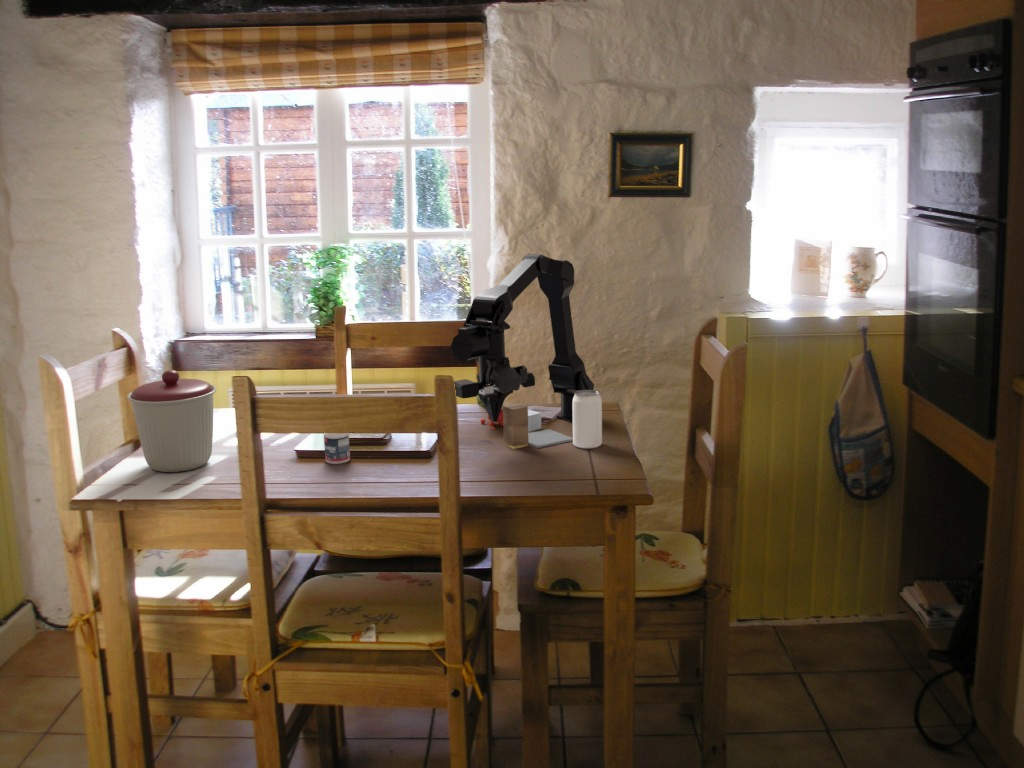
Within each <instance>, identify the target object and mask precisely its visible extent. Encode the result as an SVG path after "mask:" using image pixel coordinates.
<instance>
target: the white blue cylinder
mask: <svg viewBox="0 0 1024 768" xmlns="http://www.w3.org/2000/svg"><path fill="white" fill-rule="evenodd" d="M323 443H324V456H325V457H324V458H325V463H327V464H332V465H337V464H338V465H341V464H345V463H349V461H351V460H350V459H351V450H350V433H348V434H324V433H323Z"/></svg>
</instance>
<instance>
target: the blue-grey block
mask: <svg viewBox="0 0 1024 768" xmlns="http://www.w3.org/2000/svg"><path fill="white" fill-rule="evenodd" d="M541 429H542V412H539V411H535V410H531V409H528V433H531V432H535V431H539V430H541Z"/></svg>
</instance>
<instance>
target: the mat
mask: <svg viewBox="0 0 1024 768" xmlns="http://www.w3.org/2000/svg"><path fill="white" fill-rule="evenodd" d="M528 441H529V447H534V448H535V449H540V448H545V447H550V446H555V445H559V444H563V443H569V442H573V437H571V436H569V435H566V434H563V433H560V432H558V431H554V430H552V429H550V428H547V429H542V430H541V429H540V430H535V431H531V432H528Z"/></svg>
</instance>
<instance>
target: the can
mask: <svg viewBox="0 0 1024 768" xmlns="http://www.w3.org/2000/svg"><path fill="white" fill-rule="evenodd" d="M574 394H575V395H574V397H573V401H572V411H573V421H572V438H573V441H572V444H573V446H574V447H575V448H578V449H582V450H591V449H597V448H600V447H601V446H602V444H603V405H602V404H603V403H602V402H603V401H602V398H601V395H600V394H601V393H600V391H598V390H594V389H593V390H580V391H576V392H575V393H574ZM599 446H600V447H599Z"/></svg>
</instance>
